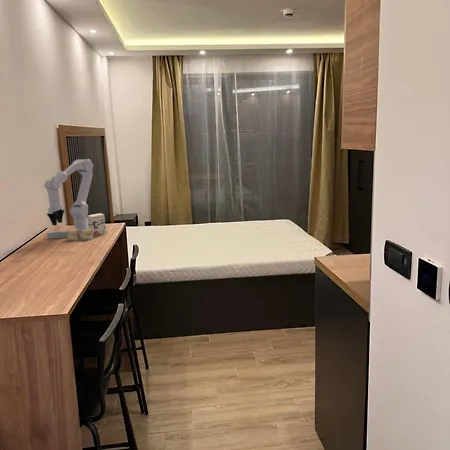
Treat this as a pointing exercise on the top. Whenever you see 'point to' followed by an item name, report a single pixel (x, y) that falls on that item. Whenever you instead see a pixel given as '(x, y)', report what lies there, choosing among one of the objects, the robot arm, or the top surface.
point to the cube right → (87, 234)
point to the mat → (81, 239)
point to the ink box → (97, 223)
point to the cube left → (73, 234)
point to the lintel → (57, 234)
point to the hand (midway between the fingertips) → (57, 223)
